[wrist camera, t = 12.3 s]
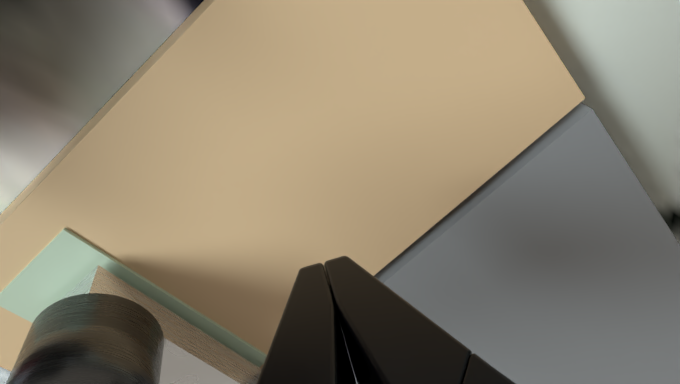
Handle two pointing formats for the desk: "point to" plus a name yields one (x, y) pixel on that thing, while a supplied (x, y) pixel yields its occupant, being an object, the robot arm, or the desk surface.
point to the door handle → (122, 342)
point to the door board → (361, 188)
